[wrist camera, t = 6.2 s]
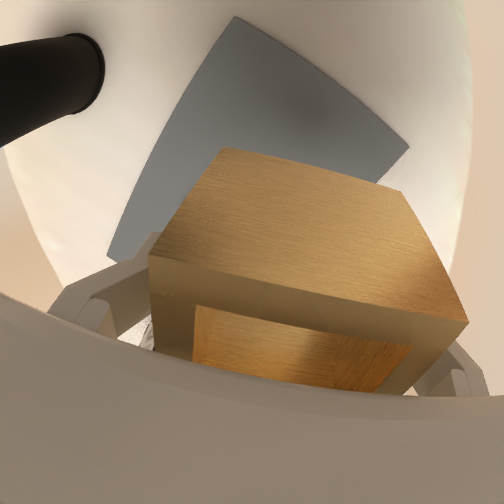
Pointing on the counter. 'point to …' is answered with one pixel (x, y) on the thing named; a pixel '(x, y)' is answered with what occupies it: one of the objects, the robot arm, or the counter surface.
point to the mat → (253, 128)
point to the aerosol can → (46, 82)
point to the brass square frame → (300, 278)
